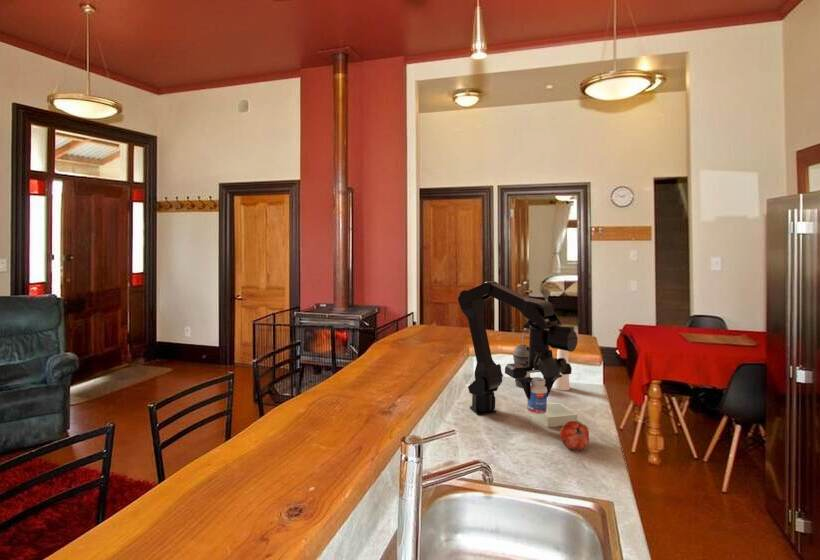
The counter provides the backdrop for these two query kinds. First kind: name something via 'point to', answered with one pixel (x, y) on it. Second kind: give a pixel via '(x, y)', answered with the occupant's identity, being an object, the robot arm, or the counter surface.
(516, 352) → the beverage cup
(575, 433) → the pomegranate
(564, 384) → the cosmetic bottle
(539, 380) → the pill bottle
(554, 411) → the plinth
